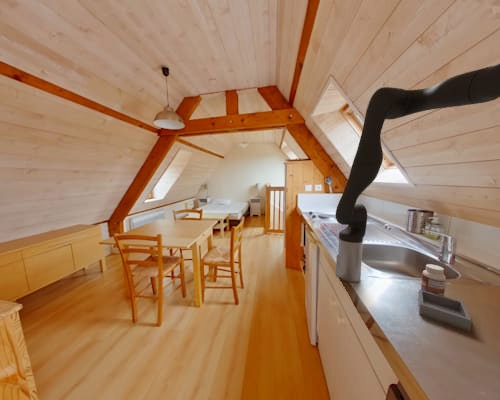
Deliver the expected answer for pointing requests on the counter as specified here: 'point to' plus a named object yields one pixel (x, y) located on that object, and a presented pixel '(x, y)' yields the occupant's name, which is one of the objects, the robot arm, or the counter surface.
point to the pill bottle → (433, 280)
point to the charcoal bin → (444, 310)
